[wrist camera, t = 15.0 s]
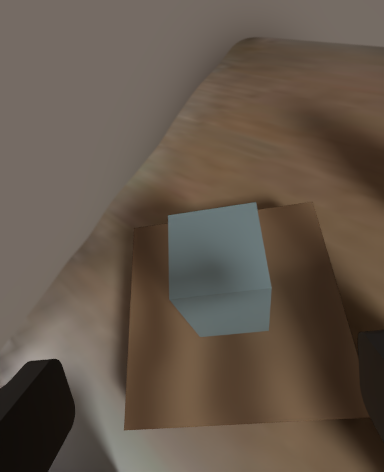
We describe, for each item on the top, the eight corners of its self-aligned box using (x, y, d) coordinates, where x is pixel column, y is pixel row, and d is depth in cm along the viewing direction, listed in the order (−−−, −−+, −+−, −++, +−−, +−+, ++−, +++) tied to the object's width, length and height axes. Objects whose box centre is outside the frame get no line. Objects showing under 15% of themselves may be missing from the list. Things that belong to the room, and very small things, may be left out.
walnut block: (305, 230, 31) (312, 201, 27) (355, 416, 23) (375, 416, 19) (150, 251, 34) (134, 228, 29) (147, 427, 26) (124, 430, 21)
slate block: (258, 266, 25) (255, 202, 17) (268, 330, 23) (271, 288, 15) (196, 274, 26) (168, 215, 18) (200, 337, 23) (169, 299, 16)
